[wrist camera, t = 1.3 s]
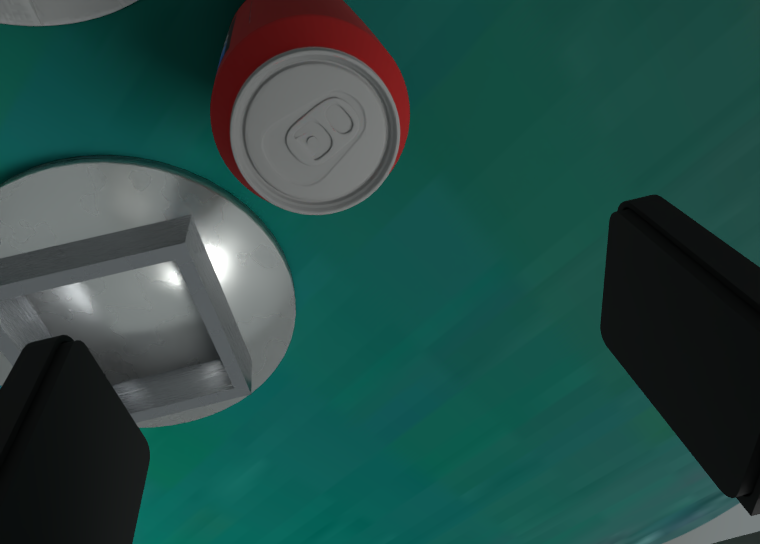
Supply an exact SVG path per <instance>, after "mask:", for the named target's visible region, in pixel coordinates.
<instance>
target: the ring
mask: <svg viewBox="0 0 760 544" xmlns="http://www.w3.org/2000/svg"><path fill="white" fill-rule="evenodd" d="M136 1H138V0H0V23H3V24H10V25H23V26H50V25H62V24H71V23H77V22H82V21H86V20H91V19H95V18H98V17H101V16H104V15H107V14H110V13H113V12H115V11H118V10H120V9H122V8H124V7H126V6H128V5H130V4H132V3H134V2H136Z"/></svg>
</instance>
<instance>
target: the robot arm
mask: <svg viewBox="0 0 760 544" xmlns="http://www.w3.org/2000/svg"><path fill="white" fill-rule="evenodd" d="M600 329H601V335H602V338H603V340H604V342H605V344H606V346H607V347H608V348H609V350H610V351H611V352H612V353H613V355H614V356H615V357H616V359H617V360H618V361H619V362H620V364H621V365H622V366H623V367H624V369H625V370H626V371H627V373H628V374H629V375H630V376H631V378H632V379H633V380H634V381H635V383H636V384H637V385H638V386H639V388H640V389H641V390H642V392H643V393H644V394H645V395H646V397H647V398H648V399H649V400H650V402H651V403H652V404H653V405H654V407H655V408H656V409H657V411H658V412H659V413H660V414H661V416H662V417H663V418H664V419H665V421H666V422H667V423H668V424H669V426H670V427H671V428H672V430H673V431H674V432H675V433H676V435H677V436H678V437H679V438H680V440H681V441H682V442H683V443H684V445H685V446H686V447H687V449H688V450H689V451H690V452H691V454H692V455H693V456H694V457H695V459H696V460H697V461H698V462H699V464H700V465H701V466H702V468H703V469H704V470H705V471H706V473H707V474H708V475H709V476H710V478H711V479H712V480H713V482H714V483H715V484H716V485H717V487H718V488H719V489H720V490H721V491H722V492H723V493H724V494H725V495H726V496H728V497H731V498H735V497H736V498H737V499H738V500H739V502H740V503H741V504H742V505H743V506H744V508H745V509H746V510H747V511H748V513H749V514H750V515H751V516H753V515H757V514H760V267H758V266H757V265H756V264H754V263H753V262H751V261H750V260H749V259H747V258H746V257H744V256H743V255H742V254H740V253H739V252H737V251H736V250H735V249H733V248H732V247H730V246H729V245H728V244H726V243H725V242H723V241H722V240H721V239H719V238H718V237H717V236H715V235H714V234H712V233H711V232H710V231H708V230H707V229H705V228H704V227H703V226H701V225H700V224H698V223H697V222H696V221H694V220H693V219H691V218H690V217H689V216H687V215H686V214H684V213H683V212H682V211H680V210H679V209H677V208H676V207H675V206H673V205H672V204H670V203H669V202H668V201H666V200H665V199H663V198H662V197H660V196H658V195H650V196H645V197H641V198H637V199H633V200H629V201H624V202H622V203H621V204H620V206H619V207H618V211H617V212H614V213H613V214H612V215H611V217H610V221H609V232H608V244H607V255H606V267H605V279H604V290H603V302H602V313H601V325H600ZM149 460H150V451H149V446H148V443H147V441H146V439H145V437H144V436H143V434H142V432H141V431H140V429H139V428H138V426H137V425H136V423H135V421H134V420H133V418H132V417H131V415H130V413H129V412H128V410H127V409H126V407H125V406H124V404H123V402H122V401H121V399H120V398H119V396H118V395H117V393H116V391H115V390H114V388H113V387H112V385H111V384H110V382H109V380H108V379H107V377H106V376H105V374H104V373H103V371H102V369H101V368H100V366H99V365H98V363H97V362H96V360H95V358H94V357H93V355H92V354H91V352H90V351H89V349H88V347H87V346H86V345H85V343H84V342H82V341H81V340H76V341H74V340H73V339H72V338H71V337H69V336H68V335H60V336H55V337H51V338H47V339H43V340H39V341H34V342H31V343H28V344H26V346H25V347H24V348H23V349H22V351H21V353H20V355H19V357H18V358H17V360H16V362H15V364H14V366H13V368H12V369H11V371H10V373H9V375H8V377H7V378H6V380H5V382H4V384H3V386H2V387H1V389H0V544H132V542H133V537H134V532H135V528H136V523H137V518H138V513H139V509H140V504H141V499H142V494H143V490H144V485H145V480H146V475H147V471H148V466H149ZM713 544H760V531H759V532H755V533H752V534H748V535H743V536H740V537H735V538H732V539H728V540H724V541H721V542H717V543H713Z"/></svg>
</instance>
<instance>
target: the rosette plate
mask: <svg viewBox="0 0 760 544" xmlns="http://www.w3.org/2000/svg"><path fill="white" fill-rule="evenodd" d="M295 314H296V309H295V294H294V284H293V279H292V275H291V271H290V267H289V265H288V262H287V260H286V257H285V255H284V252H283V250H282V249H281V247H280V245H279V244H278V242H277V240H276V238H275V237H274V235H273V234H272V233H271V231H270V230H269V229H268V228H267V226H266V225H265V224H264V223H263V221H262V220H261V219H260V218H259V217H258V216H257V215H256V214H255V213H254V212H253V211H252V210H251V209H250V208H249V207H248V206H247V205H245V204H244V203H243V202H241V201H240V200H239V199H237V198H236V197H235V196H233V195H232V194H231V193H229V192H228V191H226V190H225V189H223V188H221V187H219V186H218V185H216V184H214V183H213V182H211V181H209V180H207V179H205V178H203V177H200V176H198V175H196V174H194V173H191V172H189V171H187V170H184V169H181V168H178V167H174V166H171V165H168V164H165V163H162V162H157V161H152V160H147V159H141V158H136V157H125V156H113V155H101V156H81V157H74V158H68V159H62V160H57V161H53V162H50V163H46V164H43V165H39V166H36V167H33V168H31V169H29V170H26V171H24V172H22V173H20V174H17V175H15V176H13V177H11V178H10V179H8V180H7V181H5V182H4V183H2V184H0V385H1V386H3V384H4V382H5V380H6V378H7V377H8V375H9V373H10V371H11V369H12V368H13V366H14V364H15V362H16V360H17V358H18V357H19V355H20V353H21V351H22V349H23V348H24V347H25V346H26V344H28V343H31V342H34V341H39V340H43V339H47V338H51V337H55V336H60V335H68V336H69V337H71V338H72V339H73V340H74V341H76V340H81V341H82V342H84V343H85V345H86V346H87V347H88V349H89V351H90V352H91V354H92V355H93V357H94V358H95V360H96V362H97V363H98V365H99V366H100V368H101V369H102V371H103V373H104V374H105V376H106V377H107V379H108V380H109V382H110V384H111V385H112V387H113V388H114V390H115V391H116V393H117V395H118V396H119V398H120V399H121V401H122V402H123V404H124V406H125V407H126V409H127V410H128V412H129V413H130V415H131V417H132V418H133V420H134V421H135V423H136V425H137V426H138V428H141V427H159V426H168V425H175V424H180V423H185V422H190V421H193V420H197V419H200V418H203V417H206V416H209V415H212V414H214V413H217V412H219V411H221V410H224V409H226V408H228V407H230V406H231V405H233V404H235V403H237V402H239V401H240V400H242V399H243V398H245V397H246V396H248V395H250V394H251V393H252V392H253V391H254V390H256V389H257V388H258V387H259V386H260V385H261V384H262V383H264V382H265V381H266V379H267V378H268V377H269V376H270V375H271V374H272V373H273V371H274V370H275V369H276V368H277V366H278V364H279V363H280V361H281V360H282V358H283V357H284V355H285V352H286V350H287V348H288V346H289V344H290V341H291V337H292V333H293V330H294V324H295Z"/></svg>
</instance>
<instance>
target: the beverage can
mask: <svg viewBox="0 0 760 544" xmlns="http://www.w3.org/2000/svg"><path fill="white" fill-rule="evenodd" d="M210 116H211V126H212V132H213V136H214V140H215V143H216V145H217V148H218V150H219V153H220V155H221V157H222V158H223V160H224V162H225V164H226V165H227V167H228V168H229V170H230V171H231V172H232V173H233V175H234V176H235V177H236V178H237V179H238V180H239V181H240V182H241V183H242V184H243V185H244V186H245V187H247V188H248V189H249V190H250V191H252V192H253V193H254V194H256V195H257V196H259V197H261V198H262V199H264V200H266V201H268V202H270V203H272V204H274V205H276V206H278V207H280V208H282V209H285V210H288V211H291V212H295V213H300V214H307V215H323V214H331V213H335V212H339V211H343V210H346V209H348V208H350V207H352V206H355V205H357V204H358V203H360V202H362V201H363V200H365V199H366V198H367V197H369V196H370V195H371V194H372V193H373V192H374V191H376V190H377V189H378V188H379V186H380V185H381V184H382V183H383V181H384V180H385V179H386V177H387V176H388V175H389V173H390V172H391V171H392V169H393V168H394V166H395V164H396V163H397V161H398V159H399V157H400V155H401V153H402V150H403V148H404V145H405V142H406V139H407V134H408V130H409V121H410V106H409V98H408V93H407V88H406V85H405V82H404V79H403V77H402V74H401V72H400V70H399V68H398V66H397V64H396V63H395V61H394V60H393V58H392V57H391V55H390V54H389V53H388V52H387V50H386V49H385V48H384V47H383V45H382V44H381V43H380V42H379V40H378V39H377V38H376V36H375V35H374V34H373V33H372V32H371V31H370V29H369V28H368V27H367V26H366V25H365V24H364V22H363V21H362V20H361V19H360V18H359V17H358V16H357V15H356V14H355V13H354V12H353V10H352V9H351V8H350V7H349V6H348V5H347V4H346V3H345V2H344V1H343V0H246V1H245V2H244V3H243V4H242V5H241V7H240V8H239V9H238V11H237V13H236V14H235V16H234V18H233V20H232V23H231V25H230V28H229V31H228V34H227V37H226V40H225V43H224V47H223V50H222V53H221V57H220V61H219V65H218V69H217V73H216V78H215V82H214V87H213V91H212V96H211V105H210Z"/></svg>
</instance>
